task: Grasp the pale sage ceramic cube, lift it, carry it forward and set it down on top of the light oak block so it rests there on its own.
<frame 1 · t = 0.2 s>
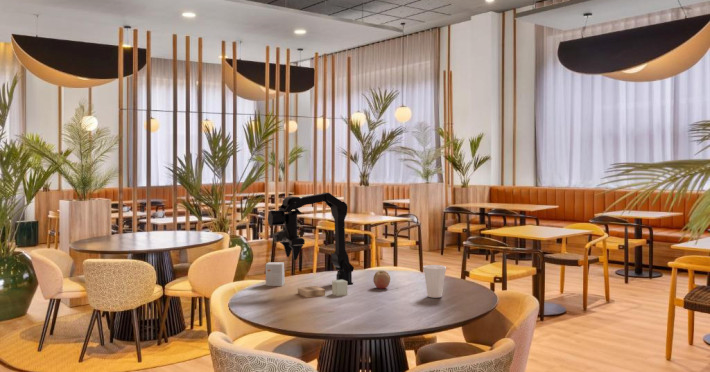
hand: (291, 258, 268), 14 cm above the table, fingers open, 9 cm apart
sage cube: (339, 294, 259), on the table
small box: (275, 285, 280), on the table
cup: (434, 297, 253), on the table
fruit: (381, 288, 272), on the table
oak block: (311, 295, 258), on the table
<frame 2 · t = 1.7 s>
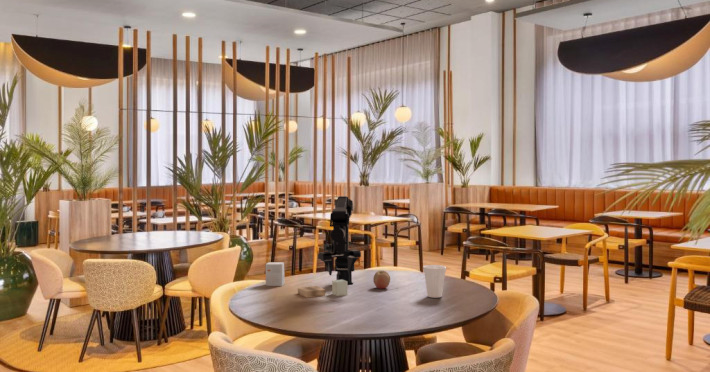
hand: (339, 274, 258), 9 cm above the table, fingers open, 9 cm apart
nothing on the table moved.
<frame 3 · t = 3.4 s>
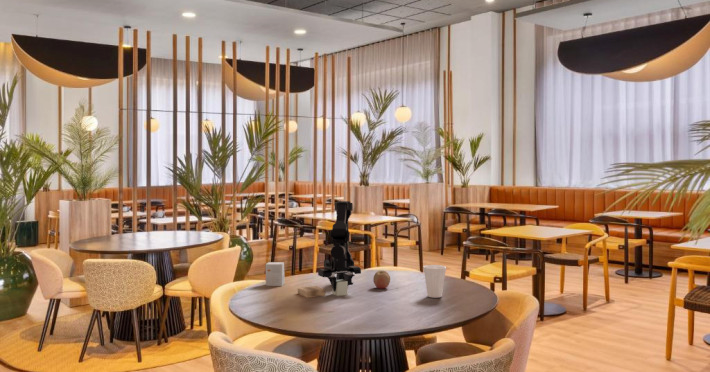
hand: (339, 290, 259), 2 cm above the table, fingers closed on sage cube, 5 cm apart
sage cube: (339, 294, 259), on the table, touching gripper
everything else where it was.
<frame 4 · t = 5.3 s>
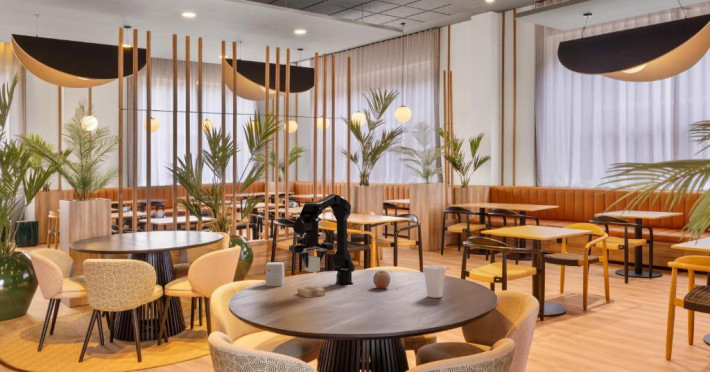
hand: (312, 267, 258), 12 cm above the table, fingers closed on sage cube, 5 cm apart
sage cube: (312, 270, 258), point 11 cm above the table, touching gripper
everything else where it was.
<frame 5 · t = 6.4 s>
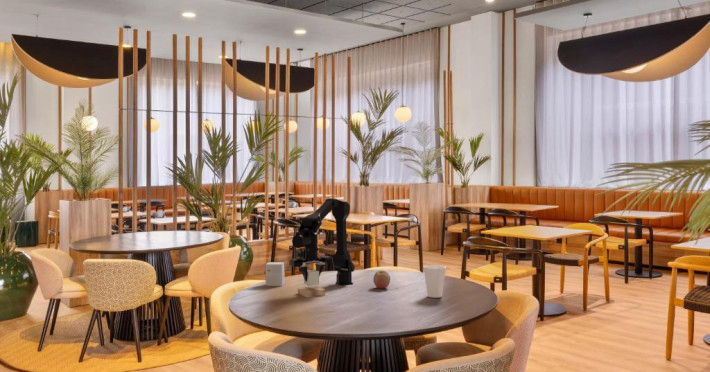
hand: (311, 280, 258), 6 cm above the table, fingers closed on sage cube, 5 cm apart
sage cube: (311, 284, 258), point 4 cm above the table, touching gripper
everything else where it was.
when the fingers open (5 cm above the table, at t = 7.3 s): sage cube drops 1 cm, point 2 cm above the table.
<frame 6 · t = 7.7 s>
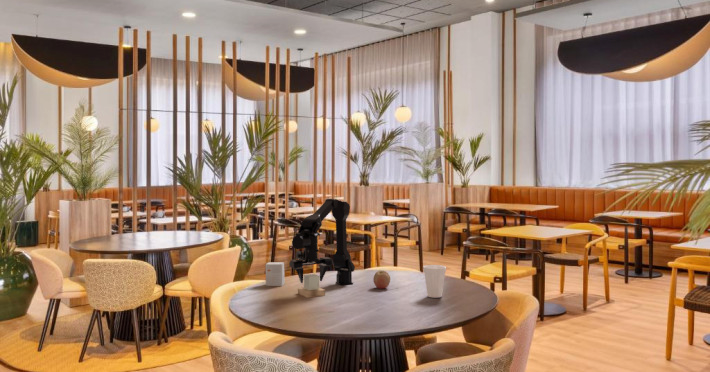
hand: (311, 282, 258), 5 cm above the table, fingers open, 9 cm apart
sage cube: (311, 288, 258), point 2 cm above the table
everything else where it was.
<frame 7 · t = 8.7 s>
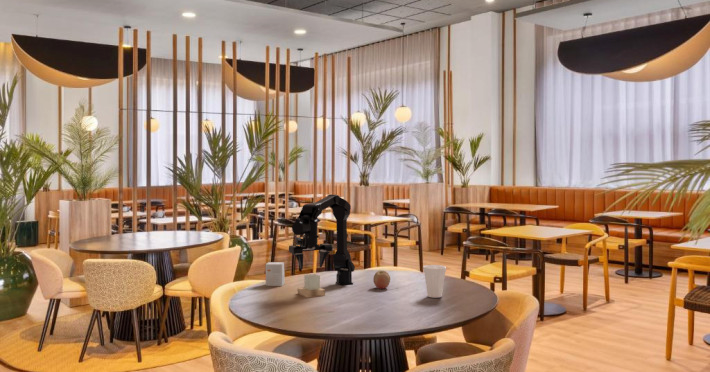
hand: (311, 268, 258), 12 cm above the table, fingers open, 9 cm apart
sage cube: (312, 288, 259), point 2 cm above the table, touching oak block
oak block: (311, 295, 258), on the table, touching sage cube
everything else where it was.
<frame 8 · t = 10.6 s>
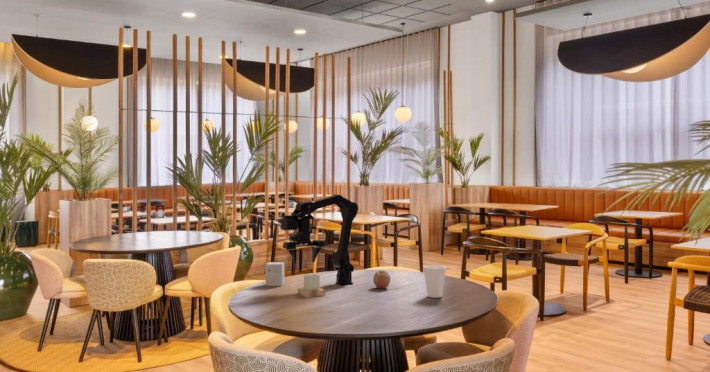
hand: (304, 263, 270), 12 cm above the table, fingers open, 9 cm apart
sage cube: (311, 288, 259), point 2 cm above the table
oak block: (311, 295, 258), on the table
everything else where it was.
at the end: sage cube inside the target area on the oak block (0.2 cm from its centre), point 3.0 cm above the oak block's base; sage cube tilted 1°; the gripper is holding nothing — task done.
